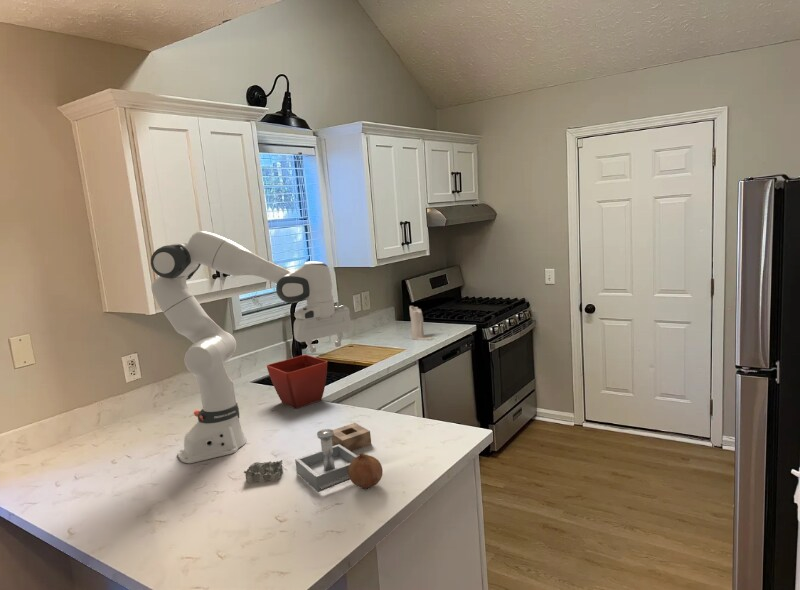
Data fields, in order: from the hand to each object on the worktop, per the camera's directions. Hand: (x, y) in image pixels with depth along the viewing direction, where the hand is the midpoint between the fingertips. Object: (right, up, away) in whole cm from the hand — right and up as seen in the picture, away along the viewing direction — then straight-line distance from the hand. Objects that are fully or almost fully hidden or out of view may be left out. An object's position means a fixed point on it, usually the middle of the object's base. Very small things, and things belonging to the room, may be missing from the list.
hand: (325, 349), depth 183 cm
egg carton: (-15, -37, -21) cm, 45 cm away
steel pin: (+4, -34, -23) cm, 41 cm away
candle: (+39, -8, +138) cm, 143 cm away
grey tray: (+4, -35, -23) cm, 42 cm away
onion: (+16, -35, -33) cm, 51 cm away
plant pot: (-16, -27, +44) cm, 54 cm away
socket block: (+9, -32, -7) cm, 34 cm away
